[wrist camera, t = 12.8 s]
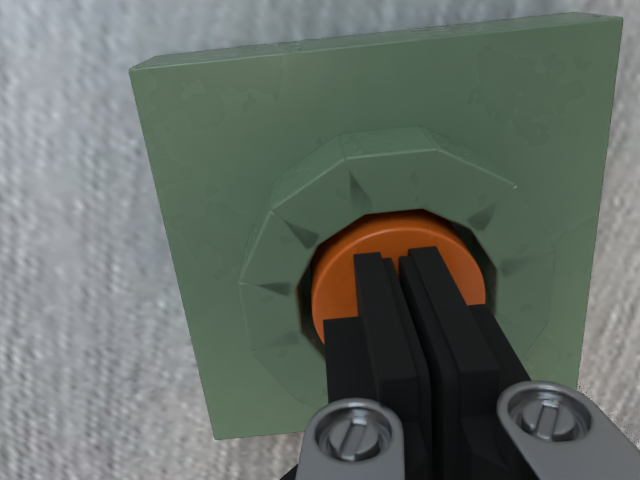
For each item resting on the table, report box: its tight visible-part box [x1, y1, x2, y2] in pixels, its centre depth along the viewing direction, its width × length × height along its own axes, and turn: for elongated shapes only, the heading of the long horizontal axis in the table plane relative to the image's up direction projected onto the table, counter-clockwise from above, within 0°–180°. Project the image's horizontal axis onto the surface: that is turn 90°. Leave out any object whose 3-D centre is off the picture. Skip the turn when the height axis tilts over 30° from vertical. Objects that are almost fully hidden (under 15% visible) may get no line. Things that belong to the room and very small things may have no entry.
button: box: [311, 209, 486, 344], centre depth 12 cm, size 4×4×2 cm
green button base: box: [129, 12, 623, 440], centre depth 13 cm, size 10×10×4 cm
